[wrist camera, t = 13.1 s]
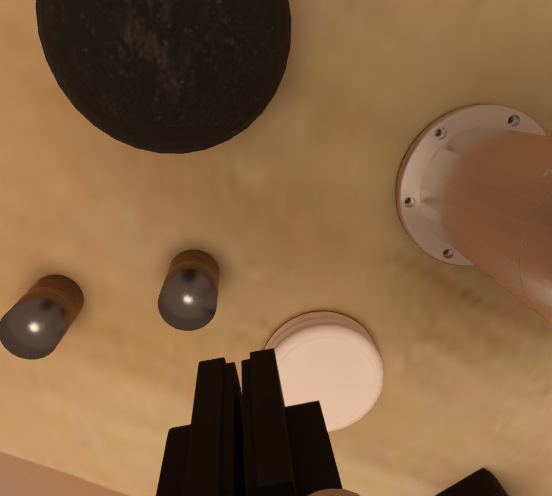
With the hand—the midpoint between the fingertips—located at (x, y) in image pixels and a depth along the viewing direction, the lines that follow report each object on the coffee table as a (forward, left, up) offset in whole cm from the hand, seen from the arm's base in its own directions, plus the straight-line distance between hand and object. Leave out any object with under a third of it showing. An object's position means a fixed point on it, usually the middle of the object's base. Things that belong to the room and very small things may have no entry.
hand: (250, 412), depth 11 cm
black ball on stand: (+2, -10, -29) cm, 31 cm away
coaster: (-4, +17, -30) cm, 34 cm away
